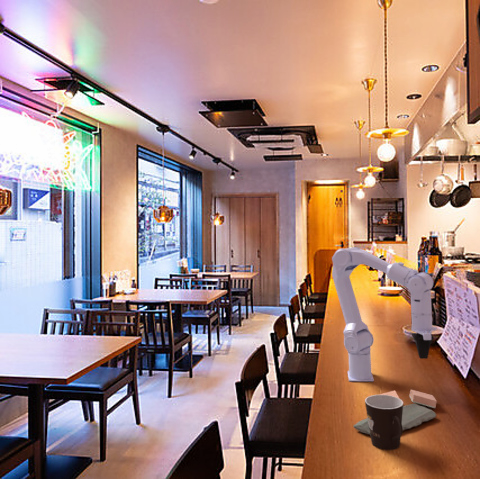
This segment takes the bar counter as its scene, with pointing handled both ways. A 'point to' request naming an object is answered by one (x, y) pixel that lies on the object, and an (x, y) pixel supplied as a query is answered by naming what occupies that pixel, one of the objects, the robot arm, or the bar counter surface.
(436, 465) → the bar counter surface
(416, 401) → the pink flat block
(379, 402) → the coffee mug
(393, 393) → the cream tile
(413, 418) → the stone slab
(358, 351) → the robot arm
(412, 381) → the bar counter surface
